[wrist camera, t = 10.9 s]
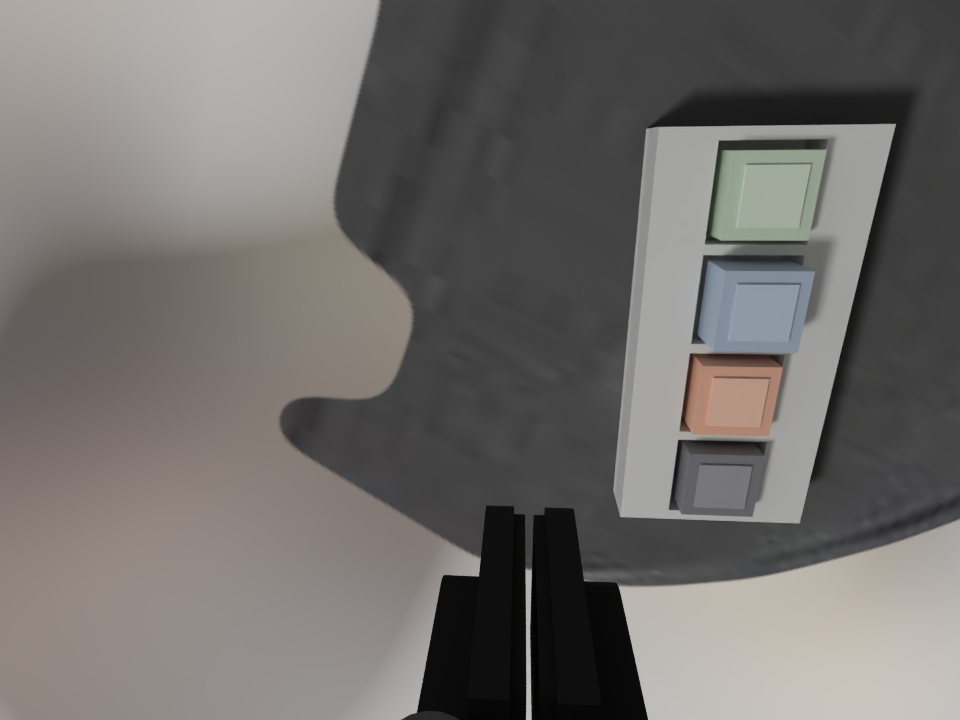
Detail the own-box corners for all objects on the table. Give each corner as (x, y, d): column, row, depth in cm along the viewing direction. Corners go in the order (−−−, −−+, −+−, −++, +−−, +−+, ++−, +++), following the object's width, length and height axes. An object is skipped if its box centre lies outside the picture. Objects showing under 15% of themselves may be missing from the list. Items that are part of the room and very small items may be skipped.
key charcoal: (746, 433, 37) (765, 457, 35) (736, 490, 39) (753, 518, 36) (677, 431, 38) (690, 455, 35) (669, 488, 39) (681, 515, 37)
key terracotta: (762, 350, 35) (783, 368, 32) (750, 414, 37) (769, 437, 34) (688, 349, 36) (703, 367, 33) (680, 412, 37) (693, 435, 34)
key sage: (799, 149, 31) (828, 149, 28) (784, 232, 33) (809, 241, 30) (715, 150, 31) (735, 150, 28) (704, 232, 33) (721, 240, 30)
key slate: (789, 260, 32) (816, 272, 29) (775, 335, 34) (799, 354, 31) (707, 260, 32) (726, 271, 29) (697, 334, 34) (714, 352, 31)
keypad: (860, 125, 31) (896, 123, 28) (779, 495, 41) (799, 523, 38) (646, 128, 32) (658, 127, 29) (613, 490, 41) (620, 516, 38)
